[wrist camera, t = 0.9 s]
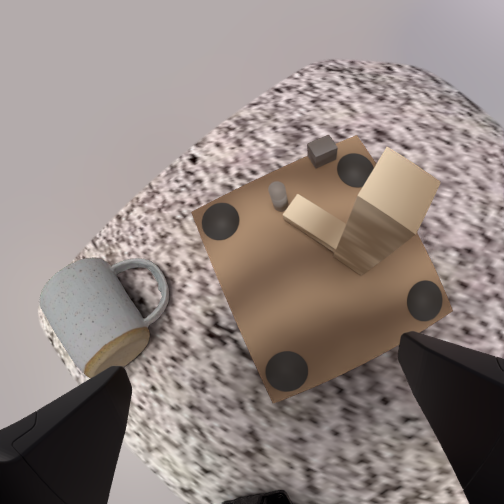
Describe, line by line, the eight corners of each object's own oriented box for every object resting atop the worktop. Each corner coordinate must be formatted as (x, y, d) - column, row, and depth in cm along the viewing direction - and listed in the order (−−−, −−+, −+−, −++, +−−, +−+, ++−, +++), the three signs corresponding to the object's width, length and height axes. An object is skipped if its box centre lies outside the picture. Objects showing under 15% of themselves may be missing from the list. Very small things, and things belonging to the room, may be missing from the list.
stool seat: (446, 311, 21) (471, 309, 16) (274, 399, 22) (267, 416, 18) (355, 142, 25) (361, 114, 21) (196, 216, 26) (176, 198, 22)
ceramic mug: (121, 378, 25) (68, 391, 17) (78, 313, 27) (24, 308, 19) (195, 305, 25) (152, 300, 18) (142, 241, 27) (93, 216, 20)
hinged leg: (281, 222, 23) (254, 137, 12) (300, 196, 23) (289, 96, 12) (361, 275, 21) (415, 234, 10) (378, 247, 21) (440, 181, 10)
